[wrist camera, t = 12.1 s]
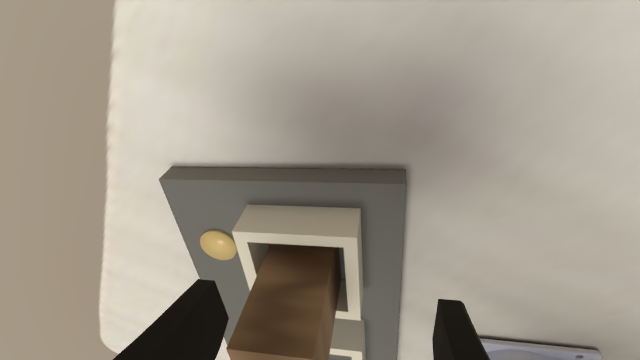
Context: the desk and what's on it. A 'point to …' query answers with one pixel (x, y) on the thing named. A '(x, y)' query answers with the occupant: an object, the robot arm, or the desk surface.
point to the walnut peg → (290, 306)
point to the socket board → (300, 239)
